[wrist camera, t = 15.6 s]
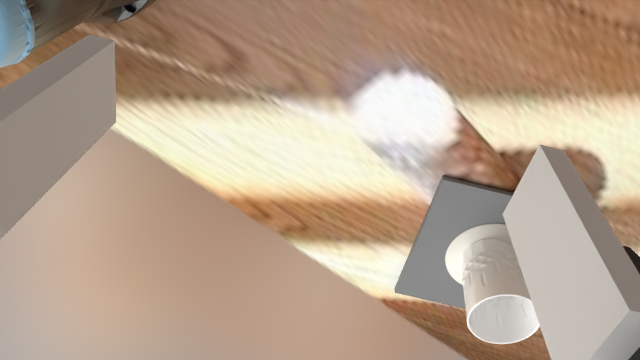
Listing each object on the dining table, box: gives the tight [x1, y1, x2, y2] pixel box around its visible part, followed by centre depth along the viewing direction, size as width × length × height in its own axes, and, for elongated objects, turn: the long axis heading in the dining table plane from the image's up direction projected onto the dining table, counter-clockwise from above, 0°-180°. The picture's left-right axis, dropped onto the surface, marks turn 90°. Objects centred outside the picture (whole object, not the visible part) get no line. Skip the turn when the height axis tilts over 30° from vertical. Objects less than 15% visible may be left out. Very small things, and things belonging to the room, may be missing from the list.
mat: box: [395, 176, 514, 309], centre depth 64 cm, size 19×19×1 cm
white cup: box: [461, 239, 540, 344], centre depth 59 cm, size 8×8×10 cm
